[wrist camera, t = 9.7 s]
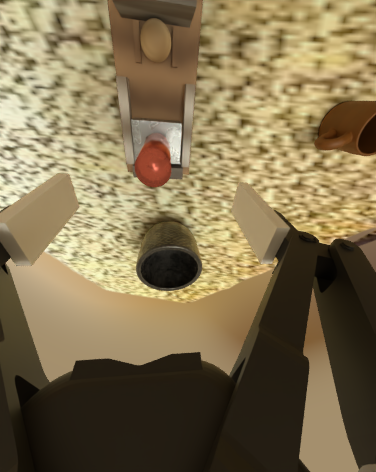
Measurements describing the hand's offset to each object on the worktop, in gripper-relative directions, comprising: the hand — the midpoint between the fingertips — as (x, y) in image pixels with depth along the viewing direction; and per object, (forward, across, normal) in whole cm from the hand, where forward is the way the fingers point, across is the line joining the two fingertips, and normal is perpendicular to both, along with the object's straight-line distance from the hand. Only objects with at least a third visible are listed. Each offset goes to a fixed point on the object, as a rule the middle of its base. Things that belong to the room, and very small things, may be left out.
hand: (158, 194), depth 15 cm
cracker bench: (+25, -1, +6) cm, 26 cm away
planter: (+25, +1, -23) cm, 34 cm away
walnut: (+23, -1, +12) cm, 26 cm away
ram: (+23, -1, 0) cm, 23 cm away
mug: (+25, +32, +4) cm, 41 cm away
